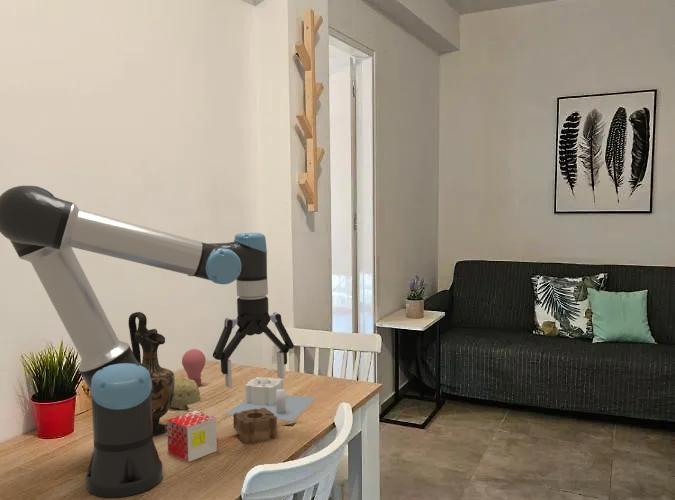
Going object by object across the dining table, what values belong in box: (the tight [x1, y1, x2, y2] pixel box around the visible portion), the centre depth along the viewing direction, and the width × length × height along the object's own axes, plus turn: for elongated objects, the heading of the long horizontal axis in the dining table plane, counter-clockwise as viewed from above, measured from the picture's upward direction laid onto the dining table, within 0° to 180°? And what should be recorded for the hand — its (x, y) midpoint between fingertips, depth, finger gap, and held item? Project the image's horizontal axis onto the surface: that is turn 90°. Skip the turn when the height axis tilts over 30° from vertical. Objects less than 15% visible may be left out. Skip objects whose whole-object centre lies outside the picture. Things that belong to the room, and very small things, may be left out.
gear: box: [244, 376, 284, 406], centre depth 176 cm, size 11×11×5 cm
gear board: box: [225, 377, 317, 428], centre depth 170 cm, size 19×19×8 cm
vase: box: [128, 311, 176, 436], centre depth 156 cm, size 12×12×30 cm
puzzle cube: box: [166, 410, 218, 463], centre depth 144 cm, size 8×8×8 cm
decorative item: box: [169, 376, 201, 410], centre depth 176 cm, size 10×10×10 cm
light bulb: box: [181, 348, 207, 387], centre depth 192 cm, size 7×7×12 cm
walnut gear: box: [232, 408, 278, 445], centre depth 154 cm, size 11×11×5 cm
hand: (255, 382), depth 153 cm, fingers open, 13 cm apart
